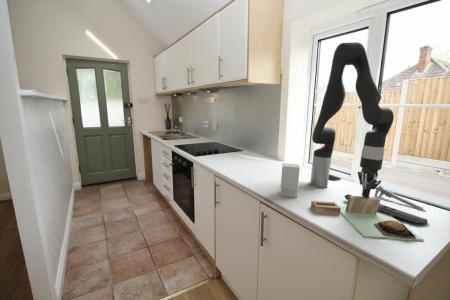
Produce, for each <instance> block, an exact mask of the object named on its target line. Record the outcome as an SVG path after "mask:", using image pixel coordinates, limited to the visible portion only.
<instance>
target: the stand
mask: <svg viewBox="0 0 450 300" xmlns="http://www.w3.org/2000/svg"><path fill="white" fill-rule="evenodd" d="M339 206H340V205H338V204H337V203H336V202H335V201H322V200H321V201H319V200H317V201H316V200H311V203H310V208H311V209H312V211H313V212H314V214H317V215H319V214H320V215H333V216H340V215H341V213H340V210H341V208H340V207H339Z"/></svg>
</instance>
